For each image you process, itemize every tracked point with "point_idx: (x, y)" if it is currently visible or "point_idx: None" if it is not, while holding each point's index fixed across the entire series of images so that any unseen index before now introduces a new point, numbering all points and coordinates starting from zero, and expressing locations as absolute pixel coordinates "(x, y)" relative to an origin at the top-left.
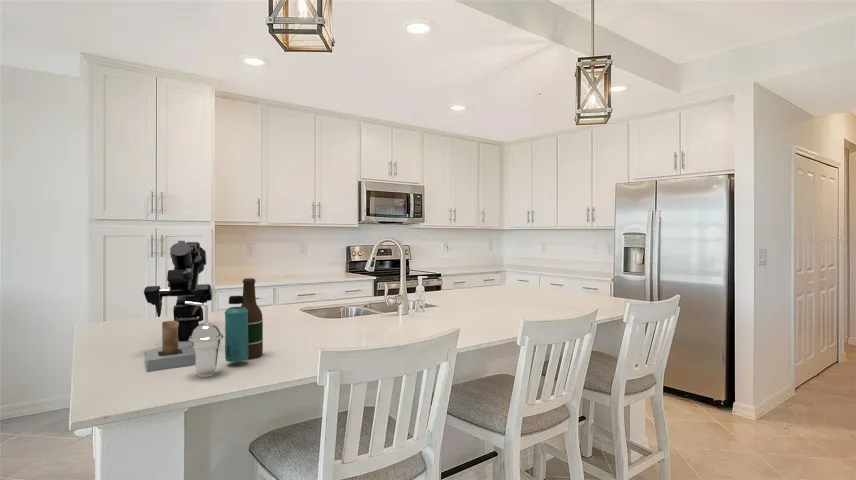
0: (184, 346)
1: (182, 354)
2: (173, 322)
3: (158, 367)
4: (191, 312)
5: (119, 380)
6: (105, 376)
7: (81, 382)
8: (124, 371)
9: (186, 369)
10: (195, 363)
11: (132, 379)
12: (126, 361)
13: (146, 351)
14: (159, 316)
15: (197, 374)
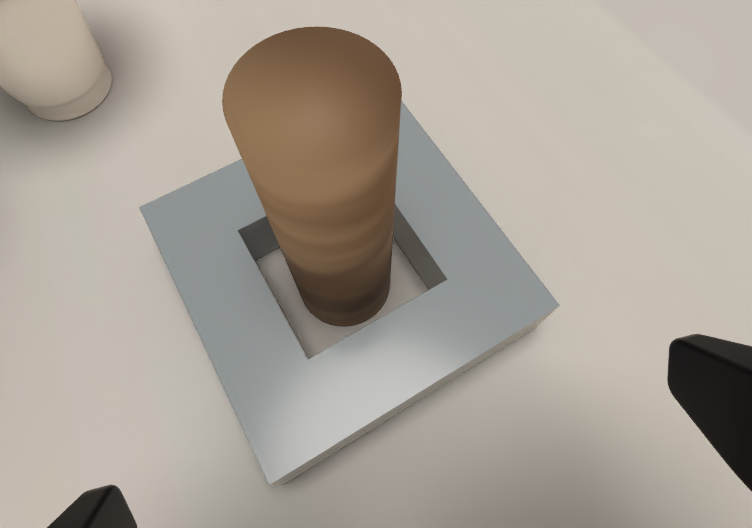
0: (309, 442)
1: (230, 204)
2: (256, 67)
3: None
4: (93, 496)
5: (444, 26)
6: (552, 72)
7: (594, 9)
8: (515, 137)
9: (194, 159)
10: (81, 12)
11: (393, 35)
12: (659, 322)
13: (538, 288)
14: (673, 383)
15: (103, 63)
